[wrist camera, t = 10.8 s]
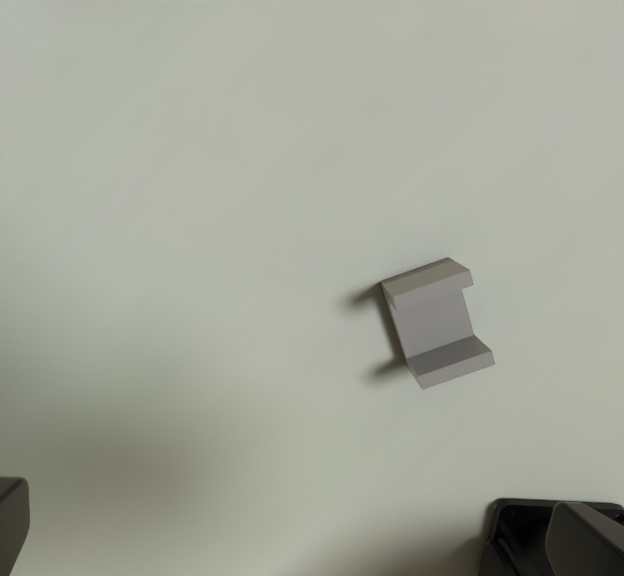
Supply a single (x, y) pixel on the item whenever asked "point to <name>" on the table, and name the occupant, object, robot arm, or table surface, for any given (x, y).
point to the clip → (435, 322)
